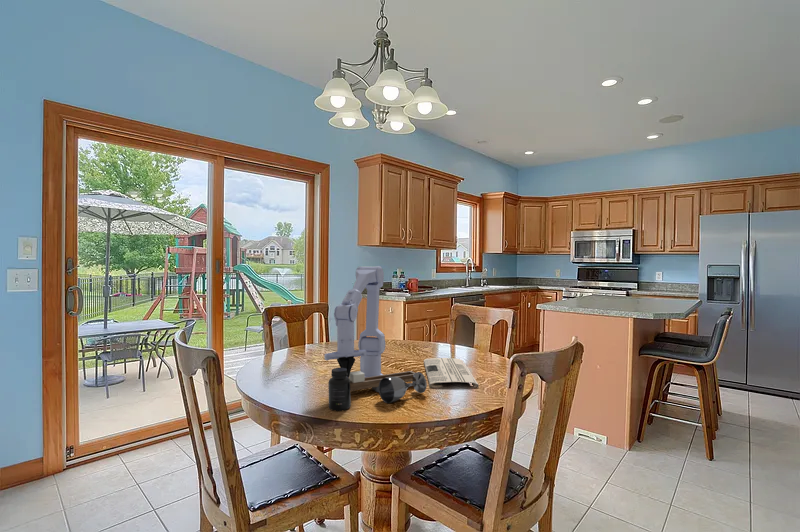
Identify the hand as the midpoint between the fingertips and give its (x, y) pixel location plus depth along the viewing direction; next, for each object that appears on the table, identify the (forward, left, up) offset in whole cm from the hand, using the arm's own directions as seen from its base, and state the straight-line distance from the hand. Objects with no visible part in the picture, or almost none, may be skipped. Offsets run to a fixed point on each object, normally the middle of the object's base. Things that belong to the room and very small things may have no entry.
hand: (345, 378), depth 138 cm
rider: (0, +4, -2) cm, 5 cm away
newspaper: (-5, +46, -6) cm, 47 cm away
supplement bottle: (+11, -6, -6) cm, 14 cm away
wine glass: (+10, +23, -2) cm, 26 cm away
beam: (0, +13, -5) cm, 14 cm away
